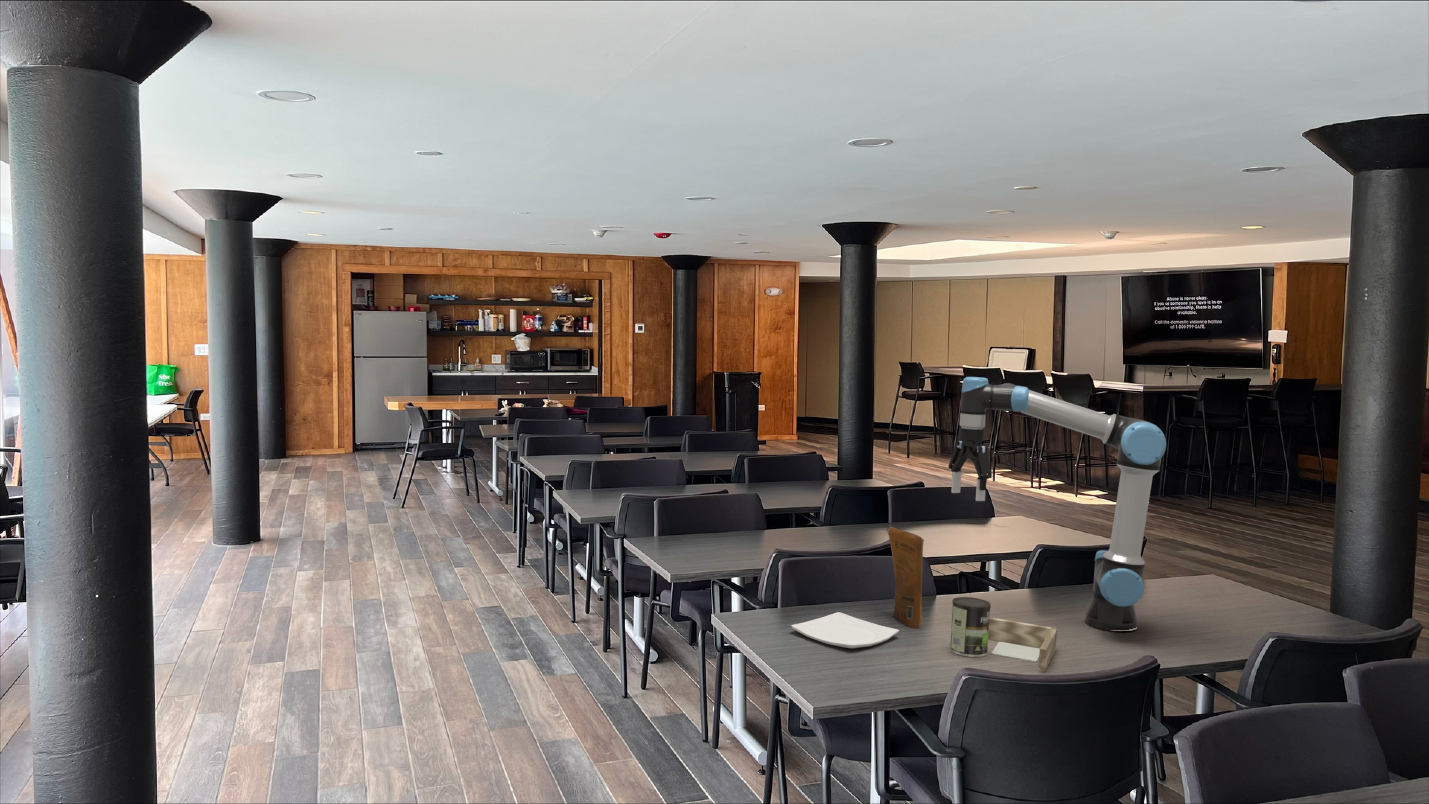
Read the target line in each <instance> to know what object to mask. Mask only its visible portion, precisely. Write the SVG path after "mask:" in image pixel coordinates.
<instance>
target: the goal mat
mask: <svg viewBox="0 0 1429 804" xmlns="http://www.w3.org/2000/svg"><path fill="white" fill-rule="evenodd" d="M1039 652H1040V648H1037V647H1031V646H1025V645H1020V644H1014V643H1008V642H1002V641H998V643H997V644H996V646H995V647H994V649H993V650H992V651H991V652H990V655H994V656H999V657H1003V658H1004V657H1005V658H1010V659H1016V660H1021V661H1027V662H1033V663H1037V662H1038V661H1039Z"/></svg>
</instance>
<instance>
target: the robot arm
mask: <svg viewBox="0 0 1429 804" xmlns="http://www.w3.org/2000/svg"><path fill="white" fill-rule="evenodd" d="M987 410H997V411H1010V412H1017V413H1022V414H1024V415H1027V416H1031V417H1033V418H1036V419H1040V420H1042V421H1045V422H1048V423H1052V424H1055V425H1058V426H1059V427H1063V428H1066V429H1069V430H1073V431H1075V432H1079V433H1082V434H1084V435H1088V436H1091V437H1094V438H1097V439H1100V440H1101V441H1102V443H1103V444H1104V445H1108V446H1110V447H1112V448H1115V449H1117V450H1118V452H1117V459H1116V466H1117V467H1118V469H1120V478H1119V483H1118V489H1117V496H1116V503H1115V510H1114V517H1113V523H1112V529H1111V536H1110V542H1109V548H1108V550H1103V549H1102V550H1098V551H1096V553H1095V558H1094V575H1093V586H1092V598H1091V601H1090V603H1089V605H1088V608H1087V609H1086V612H1085V616H1084V622H1085V624H1087V625H1088V626H1091V628H1092V627H1093V628H1096V629H1099V628H1100V629H1099V630H1103V629H1104V631H1108V630H1129V629H1133V628H1136V627H1137V626H1138V623H1139V622H1138V621H1139V620H1138V618H1137V617H1138V616H1137V613H1136V609H1135V605H1134V604H1136V603H1138V602H1139V601H1140V600H1141V598H1142V597H1143V595H1144V591H1145V582H1144V580H1143V579H1144V572H1145V568H1146V567H1145V565H1146V561H1145V560H1144V559H1143V558H1142V556H1141V555H1142V554H1141V553H1142V548H1143V541H1144V534H1145V528H1146V522H1147V517H1148V516H1147V515H1148V509H1149V502H1150V495H1151V489H1152V483H1153V476H1155V474H1157V473H1159V472H1160V469H1161V462H1162V457H1163V456H1164V454H1165V452H1166V449H1167V439H1166V437H1165V434H1164V432H1163V431H1162V430H1161V428H1159V427H1158V426H1157V425H1156V424H1154V423H1152V422H1149V421H1147V420H1145V419H1139V418H1133V417H1128V416H1123V415H1119V414H1115V413H1113V414H1111V415H1110V414H1109V415H1108V414H1105V413H1102V412H1099V411H1096V410H1093V409H1090V408H1087V407H1083V406H1081V405H1077V404H1074V403H1070V402H1067V401H1065V400H1061V399H1058V398H1056V397H1052V396H1049V395H1045V394H1042V393H1039V392H1036V391H1033V390H1031V389H1029V388H1028V386H1027V387H1026V386H1021V385H1016V384H1013V383H1011V382H1006V383H1003V384H1001V385H1000V384H999V385H998V384H997V385H996V384H995V385H994V384H989V380H988V378H986V377H977V376H966V377H965V378H963V380H962V387H961V398H960V413H959V414H960V415H959V426H960V427H959V431H958V439H959V440H956V441H955V445H954V449H953V452H952V454H951V458H950V459H949V460H950V461H949V462H948V469H950V470H951V494H959V493H961V485H962V468H963V466H964V465H965V463H966V461H967V460H968V459H970V461H972V463H973V466H974V468H975V471H976V474H977V476H978V477H977V478H976V489H975V490H976V491H975V502H985V501H986V490H987V483H988V480H989V479H993V478H992V477H993V475H992V470H991V466H990V461H989V456H988V447H987V446H986V445H982V444H981V443H982V442H984V441H985V433H986V431H985V428H986V415H987ZM1137 628H1138V627H1137Z"/></svg>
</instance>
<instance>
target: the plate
mask: <svg viewBox="0 0 1429 804" xmlns="http://www.w3.org/2000/svg"><path fill="white" fill-rule="evenodd" d="M790 626H791V628H792V629H793V630H794V631H796V632H797V633H800V634H801V635H804V636H805V637H807V638H810V639H812V640H815V641H818V642H821V643H823V644H826V645H831V646H835V647H840V648H847V649H857V648H866V647H872V646H874V645H878V644H881V643H883V642H887V641H888V640H889V639H891V638H893V637H895V635H897V634H899V632H900V630H899V629H897V628H893V627H888V626H884V625H880V624H876V623H873V622H870V621H867V620H863V619H861V618H858V617H855V616H852V615H848V614H846V613H843V612H840V611H839V612H838V611H837V612H834V613H831V614H828V615H825V616H823V617H819V618H818V617H817V618H815V619H811V620H807V621H805V622H800V623H795V624H791V625H790Z"/></svg>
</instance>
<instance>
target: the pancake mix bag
mask: <svg viewBox="0 0 1429 804" xmlns="http://www.w3.org/2000/svg"><path fill="white" fill-rule="evenodd" d="M887 531H888V532H887V534H888V538H889V543H890V548H891V555H892V562H893V571H894V579H895V587H894V592H895V593H894V611H893V616H892V617H894V618H895V619H896V620H898V621H899V622H901V623H902V624H904V625H905V626H906V627H908V628H912V629H913V628H914V629H921V627H922V621H923V619H922V612H923V611H922V610H923V608H922V607H923V605H922V590H923V561H924V560H923V557H924V556H923V555H924V553H923V552H924V542H925V539H923V537H921V536H919V535H918V534H915V533H913V532H909V531H907V530H901V529H898V528H895V527H893V526H889V528H888V529H887Z"/></svg>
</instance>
